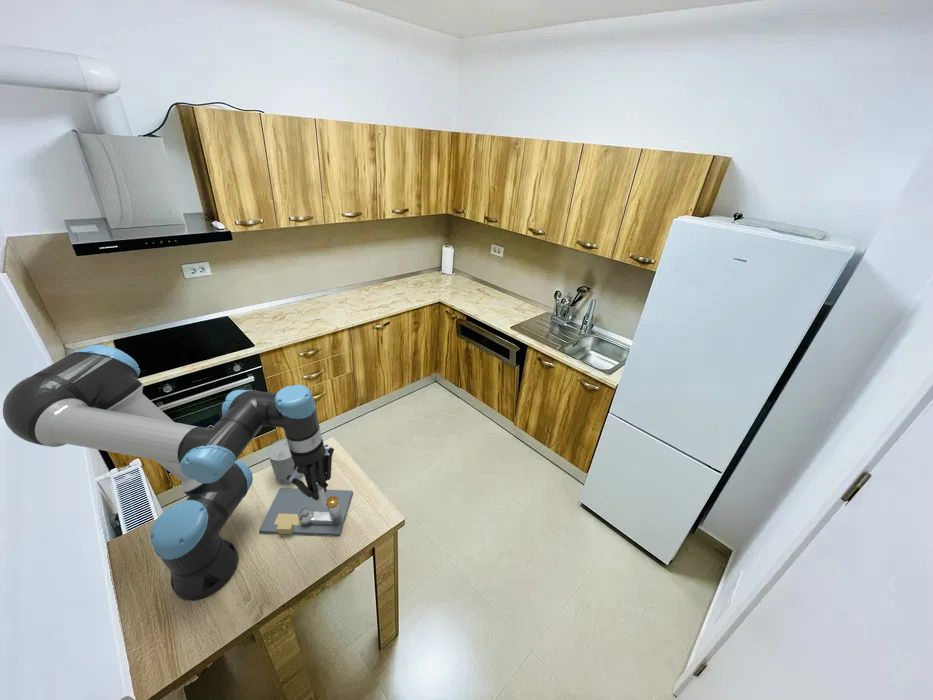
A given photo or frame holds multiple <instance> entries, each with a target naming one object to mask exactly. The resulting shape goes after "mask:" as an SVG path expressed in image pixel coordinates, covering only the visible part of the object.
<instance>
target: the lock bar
mask: <svg viewBox="0 0 933 700" xmlns="http://www.w3.org/2000/svg"><path fill="white" fill-rule="evenodd" d="M327 507H328V511H329V512H313V509H312V508H304V509H308V510H309V514H308V515H307V516H305V517H304V516H302V513H301V512H302V511H303V510H304V509H302V510H301V511H300V512H299V514H298V519H299V522H300V524H301V525H302V526H308V525H310V524H328V525H339V524H340V523H341V522H342V516H341V511H340V507H339V500H338V498H337V497H336V496H331V497H329V498H328V499H327Z"/></svg>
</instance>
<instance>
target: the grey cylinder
mask: <svg viewBox="0 0 933 700" xmlns="http://www.w3.org/2000/svg"><path fill="white" fill-rule="evenodd" d="M267 456H268V459H269V462H270V465H271V468H272V470H273V474H274V476H275V480H276V481H277V483H279V484H280V485H284V486H286V485H294V484H293V483H291V482H290V481H288V480H287V477H288V476H289V475H292V474H293V472H294V471H295V470H294V461H293V459H292V456H291V453H290V449H289V446H288V443H287V439H286V438H282V439H279V440H277V441H275V442H274V443H272V444H271V445H270V446H269V448H268V449H267ZM299 476H300V478H301V479H302V478H303V477H305V476H304V474H302V473H299Z"/></svg>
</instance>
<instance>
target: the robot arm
mask: <svg viewBox="0 0 933 700" xmlns="http://www.w3.org/2000/svg"><path fill="white" fill-rule="evenodd" d="M140 374H141V369H140V368H139V364H138V363H137V361H136V360H135V359H134V358H133V357H131V356H130V355H129V354H128V353H125V351H122V350H121V349H119V348H115V347H113V346H108V345H105V344H91V345H87V346H85V347H83V348H80V349H79V350H76V351H74V352H71V353H70V354H68V355H66V356H64V357H62V358H61V359H59V360H57V361H56V362H54V363H52V364H51V365H49V366H47V367H45V368H42V369H41V370H39V371H38V372H35V373H34V374H33V375H31V376H28V377H25V379H22V380H21V381H19V382H18V383H17V384H15V385H14V386H13V387H12V388H11V389H10V391H9V392H8V393H7V395H6V397H5V398H4V400H3V404H2V405H3V406H2V417H3V419H4V422H5V424H6V426H7V427H8V429H9V430H10V431H11V432H12V433H13V434H15V435H16V436H17V437H18V438H20V439H22V440H24V441H26V442H29V443H32V444H36V445H40V446H44V447H50V448H57V447H58V448H59V447H63V446H65V445H72V446H75V447H83V448H88V449H94V450H98V451H99V450H100V451H105V452H111V453H117V454H121V455H126V456H127V455H128V456H132V457H133V456H134V457H138V458H142V459H143V458H144V459H149V460H155V461H156V462H157V463H158V464H160V465H161V466H162V467H163V468H165V469H166V470H167V471H168V472H170V474H172V475H173V476H174V477H175V478H176V479H177V480H179V481H180V482H181V487H180V490H181V491H182V493H184V494H185V495H186V496H187V498H186V499H185V500H182V501H181V500H180V501H179V502H177V503H175V505H173V506H169V507H168V508H166V509H165V510H164V511H163V512H162V513H160V514H159V516H158V517H157V519H156V520H155V522H154V523H153V525H152V528H151V531H150V534H149V540H150V543H151V546H152V547H153V550H154V552H155V554H156V556H158V557H159V558H160V559H161V560H162V562H163V563H164V565H166V567H167V568H168V570H169V571H170V585H171V589H172V591H173V593H174V594H175V595H176V596H177V597H178V598H179V599H180V600H184V601H189V602H192V601H199V600H204V599H205V598H208V597H210V596H212V595H213V594H215V593H217V592H218V591H219V590H221V589H222V588H223V587H224V586H225V585H226V584H227V583H229V581H230V580H231V579H232V577H233V575H234V574H235V572H236V570H237V568H238V566H239V565H238V564H239V553H238V551H237V548H236V546H235V545H234V544H233V543H232V542H231V541H229V540H227V539H225V538H223V537H221V536H220V532H221V530H222V528H224V526H225V524H226V522H228V520H229V519H230V517H231V516H232V515H233V513H234V512H235V510H237V509H236V508H238V506H239V504H241V502H242V500H243V499H244V498H245V497H246V495H247V494H248V492H249V490H250V489H251V486H252V484H253V480H254V476H253V473H252V471H251V469H250V467H249V466H248V465H247V464H246V463H245V462H244V461H242V460H239V459H238V458H239V457H240V455H241V454H242V453H243V451H244V450H245V449H246V448H247V446H248V445H249V444H250V443H251V441H253V439H254V438H255V437H256V435H258V433H259V432H260V431H261V429H262V428H263V427H268V428H280V429H282V430H283V432H284V435H285V439H287V443H288V446H289V449H290V453H291V456H292V459H293V461H294V470H295V471H294V472H293V474H292V475H289V476H288V477H287V480H288V481H290V482H291V483H293V484H292V485H295V486H296V487H297V488H298V489H299V490H300V491H301V492H302V493H303V494H305V495H306V496H308V497H311V496H312V498H313V499H314V500H316V503H318V504H319V505H321V506H322V507H323V506H324V505H325V504H327V500H326V496H325V492H326V490H328V489H327V487H328V486H329V484H328V483H327V481H329V480H330V479H331V478H332V463H333V462H332V461H333V455H334V451H335V448H334V447H331V446H330V445H328V444H325V443H324V440H323V436H322V435H323V434H322V432H321V426H320V422H319V419H318V413H317V407H316V400H315V399H314V397H313V393H312V391H311V389H310V388H309V387H307V386H306V385H303V384H294V385H287V386H284V387H282V388H281V389H280V390H278V391H277V393H275V392H267V391H260V390H256V389H236V390H235V389H234V390H233V391H230V392H229V393H228V394H227V395H226V396H225V401H224V402H222V406H221V414H222V417H221V418H220V419H219V420H218V421H217V422H216V423H215V424H214V425H213V426H212V427H210V428H207V427H201V426H196V425H191V424H185V423H181V422H175V421H174V420H172V418H170V417H169V416H168V415H167V414H166V413H165V412H163V410H161V408H159V407H158V406H157V405H156V404H155V403H153V401H152V400H150V399H149V398H148V397H147V396H146V395H145V394H144V393H143V389H144V384H143V383H142V382H141V381H140V380H139V379H138V377H139V376H140ZM299 473H302V474H304V476H303V477H304V479H305V482H304V481H302V478H300V476H299ZM305 483H306V484H305Z"/></svg>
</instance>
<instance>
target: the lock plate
mask: <svg viewBox="0 0 933 700" xmlns="http://www.w3.org/2000/svg"><path fill="white" fill-rule="evenodd" d="M353 493H354V491H353V490H351V489H350V490H348V489H347V490H346V489H345V490H344V489H327V490H326V492H325V496H326V500H327V499H328V498H329V497H331V496H336V497H337V498H338V500H339V507H340V511H341V516H342V522H341V523H340V524H339V525H328V524H310V525H308V526H302V525H301V524H300V522H299V519H298V514H299V512H300V511H301V510H302V509H304V508H312V509H313V512H329V511H328V507H327V504H325V505H324V506H323V507H322V506H321V505H319V504H318V503H316V500H314V499H313V498H312V496H311V497H308V496H306V495H305V494H303V493H302V492H301V491H300V490H299V489H298V487H297V488H296V487H295V488H293V487H279V488H278V490H277V493H276V495H275V497H274V499H273V501H272V503H271V506H270V507H269V510H268V511H267V513H266V515H265V517H264V519H263V521H262V523H261V525H260V527H259V529H258V533H259V534H269V535H270V534H272V535H273V534H274V535H279V534H280V535H302V536H305V535H306V536H327V537H329V536H331V537H332V536H333V537H336V536H337V537H341V535H342V531H343V528H344V524H345V521H346V517H347V514H348V511H349V507H350V505H351V502H352V501H351V500H352V497H353ZM301 513H302V516H304V517H305V516H307V515H308V514H309V510H308V509H304V510H303V511H302V512H301Z"/></svg>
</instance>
